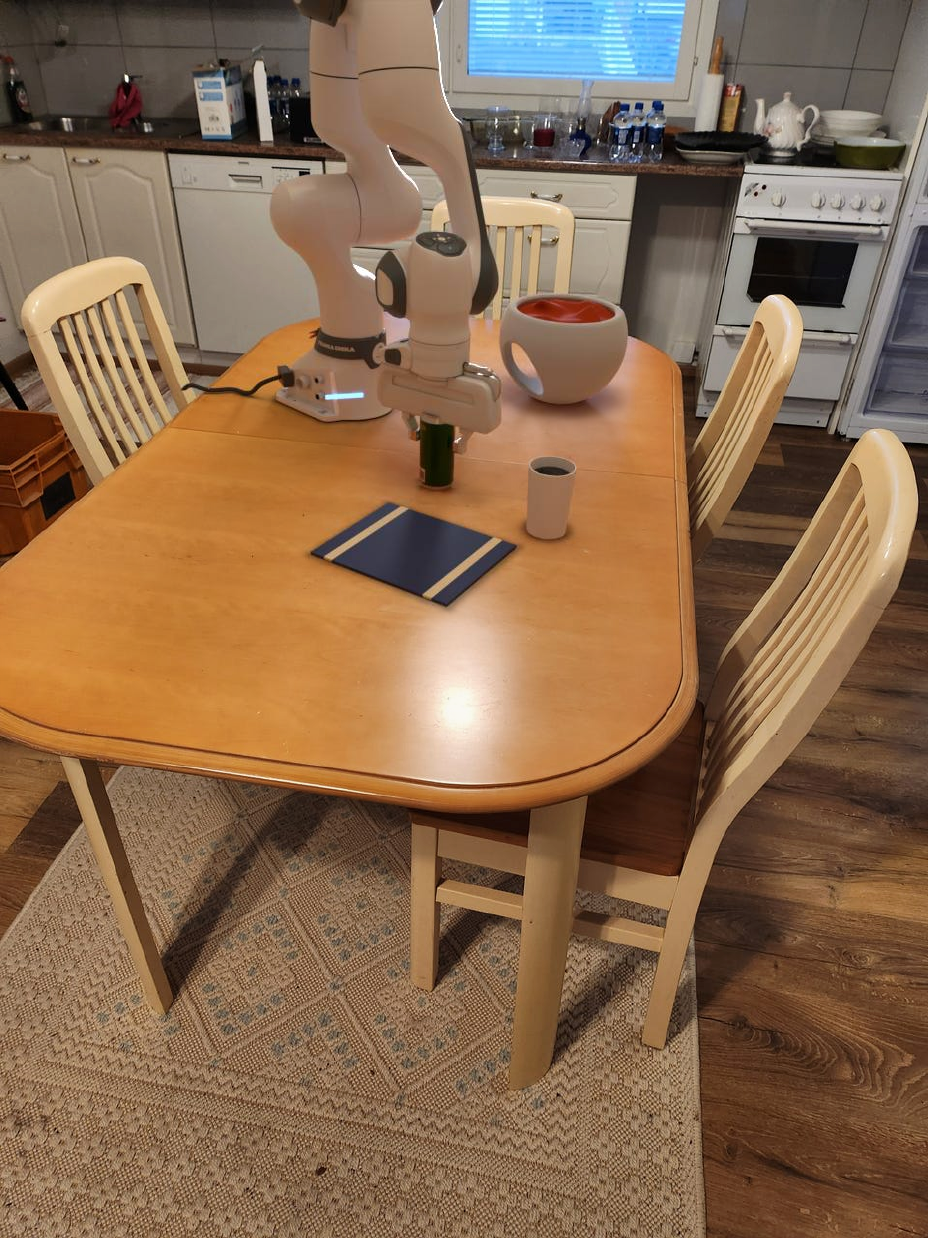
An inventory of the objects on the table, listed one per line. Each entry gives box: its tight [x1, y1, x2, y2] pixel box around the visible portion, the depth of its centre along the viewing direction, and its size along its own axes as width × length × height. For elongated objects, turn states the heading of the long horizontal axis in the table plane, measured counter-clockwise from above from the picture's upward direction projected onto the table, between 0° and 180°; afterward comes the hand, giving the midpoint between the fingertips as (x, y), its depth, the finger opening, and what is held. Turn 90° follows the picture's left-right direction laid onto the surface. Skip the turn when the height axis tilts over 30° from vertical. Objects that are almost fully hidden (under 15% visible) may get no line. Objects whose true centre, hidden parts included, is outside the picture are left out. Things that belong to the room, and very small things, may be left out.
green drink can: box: [418, 412, 456, 491], centre depth 133 cm, size 5×5×12 cm
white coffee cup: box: [525, 455, 577, 540], centre depth 123 cm, size 7×7×10 cm
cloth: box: [310, 501, 518, 608], centre depth 119 cm, size 22×18×1 cm
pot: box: [498, 292, 629, 405], centre depth 165 cm, size 24×24×18 cm
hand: (437, 445), depth 133 cm, fingers open, 7 cm apart
